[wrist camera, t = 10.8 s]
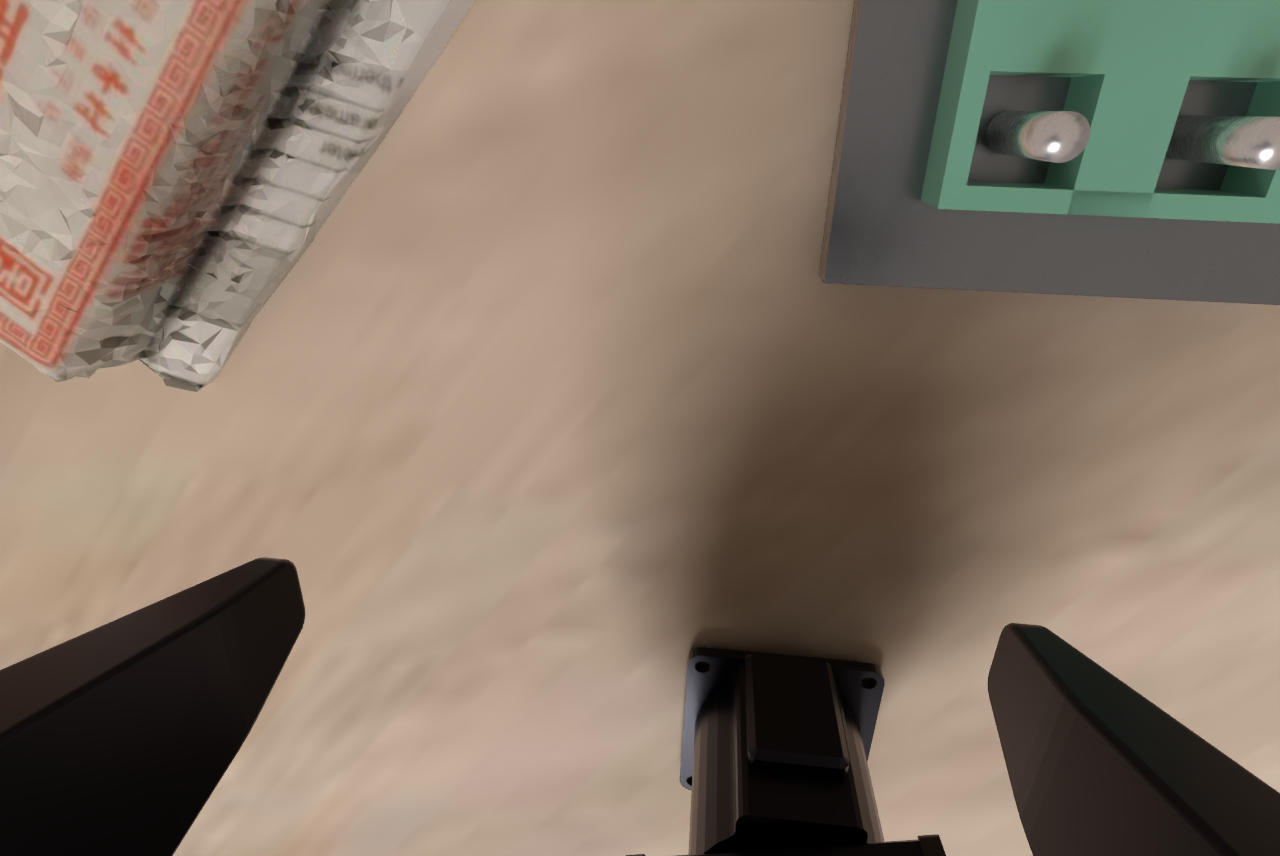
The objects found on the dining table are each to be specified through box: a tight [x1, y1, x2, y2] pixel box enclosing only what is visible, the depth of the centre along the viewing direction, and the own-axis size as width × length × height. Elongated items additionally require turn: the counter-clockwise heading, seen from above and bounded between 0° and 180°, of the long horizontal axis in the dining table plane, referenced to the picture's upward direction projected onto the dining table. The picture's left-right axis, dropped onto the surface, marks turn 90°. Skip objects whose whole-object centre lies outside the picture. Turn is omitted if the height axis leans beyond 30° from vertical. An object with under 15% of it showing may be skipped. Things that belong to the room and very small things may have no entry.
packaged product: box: [0, 0, 474, 392], centre depth 16 cm, size 18×5×10 cm
